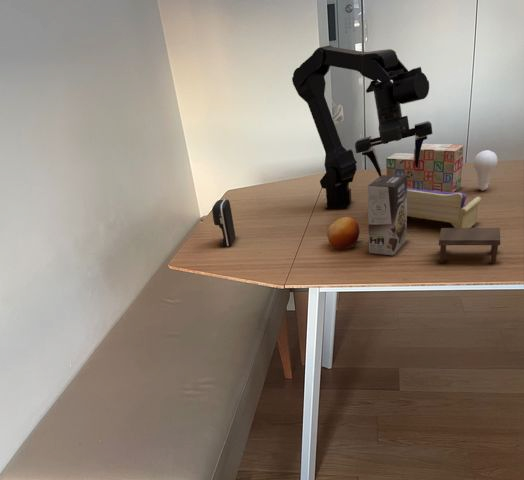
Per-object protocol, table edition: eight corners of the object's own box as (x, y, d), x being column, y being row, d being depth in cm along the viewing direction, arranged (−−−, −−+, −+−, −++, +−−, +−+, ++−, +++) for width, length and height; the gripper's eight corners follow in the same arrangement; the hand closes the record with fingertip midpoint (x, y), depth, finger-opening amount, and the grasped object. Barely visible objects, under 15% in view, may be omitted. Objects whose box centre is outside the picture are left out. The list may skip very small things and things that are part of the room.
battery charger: (223, 238, 145) (215, 198, 139) (236, 237, 144) (229, 197, 138) (217, 248, 139) (209, 206, 133) (231, 247, 139) (223, 205, 133)
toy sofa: (479, 223, 128) (483, 182, 123) (463, 236, 124) (467, 193, 118) (404, 213, 142) (404, 175, 136) (387, 224, 137) (387, 185, 131)
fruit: (367, 245, 123) (348, 218, 121) (339, 262, 127) (320, 236, 124) (368, 232, 130) (350, 207, 127) (342, 249, 134) (324, 224, 131)
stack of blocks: (386, 188, 162) (385, 147, 155) (395, 182, 165) (395, 142, 159) (452, 194, 149) (455, 150, 142) (461, 187, 153) (464, 144, 146)
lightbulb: (470, 193, 147) (473, 154, 141) (472, 187, 152) (475, 148, 146) (494, 193, 145) (498, 152, 139) (494, 186, 149) (498, 147, 143)
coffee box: (394, 256, 120) (394, 186, 111) (368, 253, 123) (366, 185, 114) (407, 241, 126) (408, 174, 117) (382, 239, 129) (381, 173, 120)
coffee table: (437, 263, 113) (439, 240, 110) (440, 250, 118) (441, 228, 115) (497, 264, 109) (500, 240, 106) (497, 251, 114) (499, 227, 111)
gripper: (347, 120, 123) (359, 186, 130) (428, 98, 117) (437, 168, 123) (352, 117, 133) (363, 178, 139) (427, 96, 127) (435, 161, 133)
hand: (398, 172), depth 133 cm, fingers open, 9 cm apart
